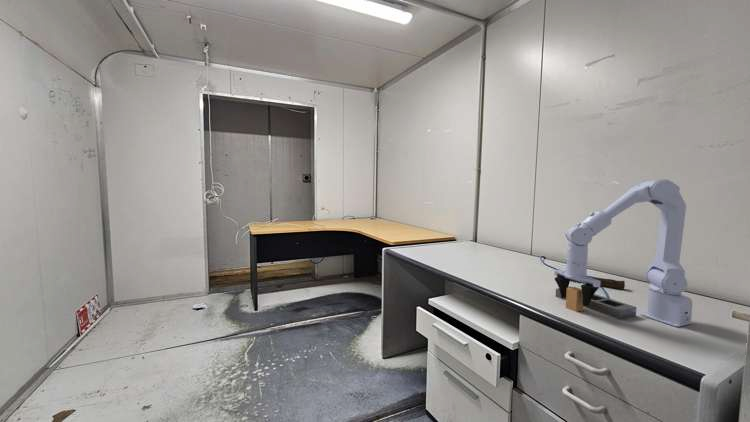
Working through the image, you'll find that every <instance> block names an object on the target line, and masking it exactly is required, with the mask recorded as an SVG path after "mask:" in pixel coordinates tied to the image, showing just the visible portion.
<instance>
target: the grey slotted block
mask: <svg viewBox="0 0 750 422" xmlns="http://www.w3.org/2000/svg"><path fill="white" fill-rule="evenodd" d="M570 287H571V286H568V288H570ZM555 297H556V298H558V299H561V300H564V301H566V298H561V294H560V290H559V287H558V288H555ZM584 308H586V309H589V310H592V311H594V312H597V313H601V314H603V315H606V316H609V317H612V318H614V319H617V320H625V319H629V318H634V317H636V316H637V306H634V305H632V304H631V305H630V304H628V303H625V302H621V301H618V300H615V299H612V298H608V297H606V296H602V295H599V294H596V293H594V295H593V297H592V299H591V301H590V304H589V306H584Z"/></svg>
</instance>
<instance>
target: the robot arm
mask: <svg viewBox="0 0 750 422" xmlns="http://www.w3.org/2000/svg"><path fill="white" fill-rule="evenodd" d="M680 189H681V187H680V186H679V185H677V184H676V183H674V182H673V181H671V180H670V179H665V178H664V179H657V180H650V179H648V180H642V181H641V182H639V183H637V184H636V185H635V186H632V187H631V188H629V189H628V191H626V192H624V194H623V195H621V196H620V197H619V198H617V200H615V201H614V202H612V203H611V204H610V205H609V206H607V207H606V208H605V209H604V210H602V211H601V210H600V211H599V210H595V211H591V212H590V213H588V217H586V218H584V220H582V221H579V222H577V223H576V226H572V227H570V228H568V230H567V231H566V233H565V237H566V240H567V252H566V253H567V254H566V268H565V269H566V270H562V269H554V273H553V275H554V276H555V277H554V281H555V282H556V285H557V287H558V288H559V290H560V294H561V298H566V292H567V288H568V287H570V282H571V281H570V280H571V279H572V280H575V281H578V282H582V283H585V284H582V285H580V287H581V288H580V289H582V293H583V306H589V304H590V301H591V299H592V297H593V295H594V294H596V292H597V291H598V289H599V288H600V287H601V286H600V282H601V281H599V280H596V279H594V278H591V277H588V276H589V275H588V274H587V271H588V256H589V253H588V252H589V244H590V243H591V242H592V241H593V240H592V239H593V237H594V236H597V234H599V233H600V232H602V231H603V230H605V229H606V228H607V227H609V226H610V225H612V219H613V218H615V217H617V216H618V215H619V214H621V213H622V212H625V210H627V209H629V208H631V207H632V206H633V205H636V204H638V203H645V202H646V203H647V202H648V203H651V204H652V205H653V206H655V207H656V208H657V209H658V210H660V216H659V225H658V226H659V227H658V233H657V240H656V250H655V251H656V252H655V258H654V259H653V260H652V261H651V262H650V264H649V268H648V269H647V271H646V272H645V276H644V278H645V279H646V282H648V283H649V286H648V295H647V296H648V300H647V311H646V312H642V313H640V316H641V317H642V316H643V317H646V318H648V319H652V320H655V321H658V322H661V323H665V324H666V325H671V326H673V327H677V328H679V327H683V326H687V325H691V324H693V321H692V313H693V300H692V298H691V297H689V296H685V295H684V294H683V293H684V292H685V291H686V290H687V288H688V281H687V279H686V277H685V273H686V271H685V269H684V268H683V266H682V265H681V263H680V259H681V252H682V243H683V235H684V227H685V219H686V211H687V204H686V202H685V200H684V198H683V197H682V194H681V192H680V191H681V190H680ZM586 275H587V276H586ZM561 298H560V299H561Z"/></svg>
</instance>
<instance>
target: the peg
mask: <svg viewBox="0 0 750 422" xmlns="http://www.w3.org/2000/svg"><path fill="white" fill-rule="evenodd" d="M569 287H570V288H567V292H566V300H565V308H566V309H568V310H570V311H573V312H581V311H584V308H585V307H584V306H583V293H582V288H580V287H579V288H578V287H577V286H576V287H575V286H569Z"/></svg>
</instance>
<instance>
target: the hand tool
mask: <svg viewBox="0 0 750 422" xmlns="http://www.w3.org/2000/svg"><path fill="white" fill-rule="evenodd" d="M586 276H588V277H591V278H594V279H596V280H599V281H601V282H600V287H607V288H612V289H616V290H621V291H622V290H625V287H626V285H625V280H616V279H611V278H603V277H602V278H601V277H596V276H591V275H588V274H587V275H586ZM572 281H573V282H572ZM570 282H572V283H576V282H578V281H575V280H572V279H571V280H570ZM581 283H582V282H578V283H577V284H581ZM582 285H586V284H585V283H583V284H582Z"/></svg>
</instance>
